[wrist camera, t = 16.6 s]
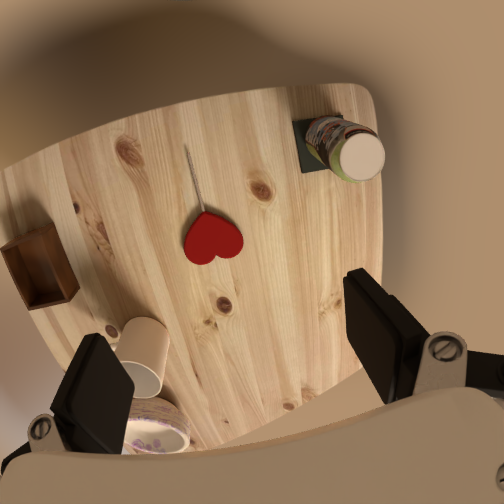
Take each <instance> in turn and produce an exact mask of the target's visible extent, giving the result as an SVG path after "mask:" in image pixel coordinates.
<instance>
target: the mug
mask: <svg viewBox="0 0 504 504" xmlns="http://www.w3.org/2000/svg"><path fill="white" fill-rule="evenodd" d="M169 343H170V337H169V334H168V331H167V330H166V328H165V327H164V326H163V325H162V324H161V323H160V322H158V321H156V320H155V319H152V318H149V317H136V318H133V319H131V320H130V321H128V322H127V323H126V325H125V327H124V329H123V332H122V334H121V337H120V339H119V342H116V343H113V344H110V347H111V348H112V350H113V351H114V350H115V352H114V353H115V355H116V356H117V358H118V359H119V361H120V362H121V364H122V366H123V367H124V369H125V370H126V372H127V373H128V374H129V376H130V377H131V379H132V380H133V382H134V385H135V391H134V395H133V397H134V398H151V397H154V396H156V395H157V394H158V393H159V392H160V391H161V388H162V383H163V377H164V371H165V365H166V359H167V354H168V348H169Z"/></svg>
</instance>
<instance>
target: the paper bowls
mask: <svg viewBox="0 0 504 504" xmlns="http://www.w3.org/2000/svg"><path fill="white" fill-rule="evenodd" d="M124 442H125V443H126V444H128V445H130V446H132V447H134V448H136V449H139V450H142V451H145V452H149V453H155V454H170V453H179V452H181V451H183V450H185V449H186V448H187V447H188V446H189V443H190V422H189V420H188V418H187V416H186V415H184V414H183V413H182V412H181V411H179V410H178V409H177V408H176V407H175V406H174V405H173V404H172V403H170V402H168V401H166V400H164V399H161V398H158V397H151V398H136V399H132V404H131V408H130V413H129V417H128V422H127V427H126V432H125V437H124Z"/></svg>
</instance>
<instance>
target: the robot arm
mask: <svg viewBox="0 0 504 504" xmlns="http://www.w3.org/2000/svg"><path fill="white" fill-rule="evenodd" d="M343 286H344V299H345V314H346V333H347V338H348V340H349V342H350V344H351V346H352V348H353V349H354V351H355V353H356V355H357V356H358V358H359V360H360V362H361V363H362V365H363V367H364V369H365V370H366V372H367V374H368V376H369V378H370V379H371V381H372V383H373V385H374V386H375V388H376V390H377V392H378V393H379V395H380V397H381V399H382V401H383V402H384V404H385V405H384V406H382V407H379V408H376V409H374V410H371V411H368V412H366V413H362V414H360V415H357V416H354V417H351V418H348V419H345V420H342V421H338V422H335V423H332V424H329V425H326V426H322V427H319V428H315V429H312V430H308V431H304V432H301V433H297V434H293V435H289V436H285V437H280V438H276V439H272V440H267V441H262V442H257V443H251V444H246V445H240V446H234V447H228V448H221V449H213V450H205V451H195V452H184V453H170V454H146V455H121V452H122V447H123V442H124V437H125V432H126V427H127V422H128V417H129V413H130V408H131V404H132V399H133V395H134V391H135V385H134V382H133V380H132V379H131V377H130V376H129V374H128V373H127V372H126V370H125V369H124V367H123V366H122V364H121V362H120V361H119V359H118V358H117V356H116V355H115V353H114V351H113V350H112V348H111V347H110V345H109V343H108V342H107V340H106V338H105V337H104V336H101V335H100V334H99V333H93V334H88V335H85V336H84V338H83V340H82V342H81V343H80V345H79V347H78V349H77V351H76V353H75V355H74V357H73V359H72V361H71V363H70V365H69V367H68V369H67V371H66V374H65V376H64V378H63V380H62V382H61V384H60V386H59V389H58V391H57V393H56V395H55V398H54V400H53V402H52V404H51V407H50V410H51V411H52V412H53V413H54V417H52V416H51V415H49V414H41V415H39V416H37V417H36V418H35V419H34V420H33V421H32V422H31V423H30V425H29V427H28V439H29V441H28V442H27V443H25V444H24V445H22V446H21V447H20V448H18V449H17V450H16V451H14V452H13V453H11V454H10V455H9V456H7V457H6V458H5V459H4V460H3V462H2V466H1V474H2V476H0V504H504V355H497V354H490V353H483V352H476V351H469V350H467V344H466V342H465V341H464V339H462V337H460V336H459V335H457V334H455V333H452V332H438V333H434V334H433V335H430V334H429V333H428V332H427V331H426V330H425V329H424V328H423V326H422V325H421V324H420V323H419V322H418V321H417V320H416V319H415V318H414V316H413V315H412V314H411V313H410V312H409V311H408V310H407V309H406V308H405V307H404V306H403V305H402V304H401V303H400V301H399V300H397V298H396V297H395V296H393V295H388V293H386V292H385V290H384V289H383V288H382V287H381V286H380V285H379V284H378V283H377V282H376V281H375V280H374V279H373V278H372V277H371V276H370V275H369V274H368V273H367V272H366V270H365V269H363V268H359V269H356V270H352V271H349V272H348V273H347V276H346V277H344V278H343Z"/></svg>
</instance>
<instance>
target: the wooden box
mask: <svg viewBox="0 0 504 504" xmlns="http://www.w3.org/2000/svg"><path fill="white" fill-rule="evenodd" d="M0 250H1V253H2V255H3V258H4V260H5V263H6V265H7V267H8V270H9V272H10V274H11V276H12V279H13V281H14V283H15V285H16V287H17V289H18V291H19V293H20V295H21V297H22V299H23V301H24V303H25V305H26V307H27V309H28V311H30V310H35V309H39V308H44V307H49V306H53V305H58V304H62V303H67V302H70V301H71V300H72V298H73V297H74V296H75V294H76V293H77V292H78V290H79V289H80V286H79V284H78V281H77V279H76V277H75V275H74V272H73V270H72V268H71V266H70V263H69V261H68V258H67V256H66V254H65V251H64V249H63V246H62V243H61V241H60V238H59V236H58V233H57V230H56V227H55V224H54V222H52V223H50V224H47V225H45V226H42V227H40V228H38V229H35V230H33V231H30V232H28V233H26V234H23V235H21V236H19V237H16V238H14V239H13V240H11V241H10V242H8V243H7V244H5V245H4V246H2V247H1V248H0Z"/></svg>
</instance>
